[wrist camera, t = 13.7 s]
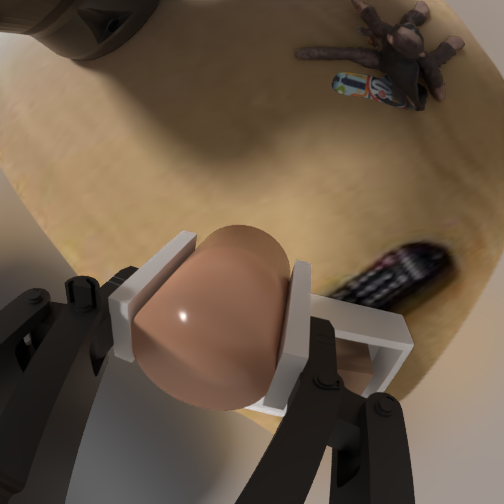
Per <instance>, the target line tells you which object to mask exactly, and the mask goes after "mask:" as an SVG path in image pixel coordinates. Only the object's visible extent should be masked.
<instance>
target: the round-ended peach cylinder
mask: <svg viewBox="0 0 504 504" xmlns="http://www.w3.org/2000/svg"><path fill="white" fill-rule="evenodd" d="M289 281H290V265H289V260H288V258H287V255H286V253H285V251H284V250H283V248H282V247H281V245H280V244H279V243H278V242H277V241H276V240H275V239H274V238H273V237H272V236H270V235H269V234H267V233H266V232H264V231H262V230H260V229H258V228H255V227H252V226H246V225H231V226H226V227H223V228H220V229H218V230H216V231H214V232H213V233H212V234H210V235H209V236H208V237H207V238H206V239H205V240H204V241H203V242H202V243H201V244H200V245H199V246H198V247H197V249H196V250H195V251H194V252H193V253H192V254H191V255H190V256H189V257H188V258H187V259H186V260H185V261H184V262H183V264H182V265H181V266H180V267H179V268H178V269H177V270H176V271H175V272H174V273H173V274H172V275H171V277H170V278H169V279H168V280H167V281H166V282H165V283H164V284H163V285H162V286H161V288H160V289H159V290H158V291H157V292H156V293H155V294H154V295H153V296H152V298H151V299H150V300H149V301H148V302H147V303H146V304H145V305H144V306H143V308H142V309H141V310H140V311H139V312H138V313H137V315H136V316H135V318H134V320H133V322H132V325H131V338H132V351H133V354H134V356H135V358H136V360H137V362H138V364H139V366H140V367H141V368H142V370H143V371H144V373H145V374H146V375H147V376H148V377H149V378H150V379H151V380H152V381H153V382H154V383H155V384H156V385H157V386H158V387H159V388H161V389H162V390H164V391H165V392H166V393H168V394H169V395H171V396H173V397H174V398H176V399H178V400H180V401H183V402H185V403H187V404H190V405H192V406H196V407H199V408H204V409H209V410H219V411H221V410H222V411H227V410H236V409H241V408H244V407H248V406H250V405H252V404H254V403H256V402H257V401H259V400H261V399H262V398H263V397H264V396H265V395H266V394H267V392H268V390H269V387H270V384H271V382H272V379H273V377H274V374H275V369H276V364H277V358H278V352H279V346H280V340H281V333H282V327H283V321H284V314H285V308H286V301H287V294H288V287H289Z"/></svg>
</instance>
